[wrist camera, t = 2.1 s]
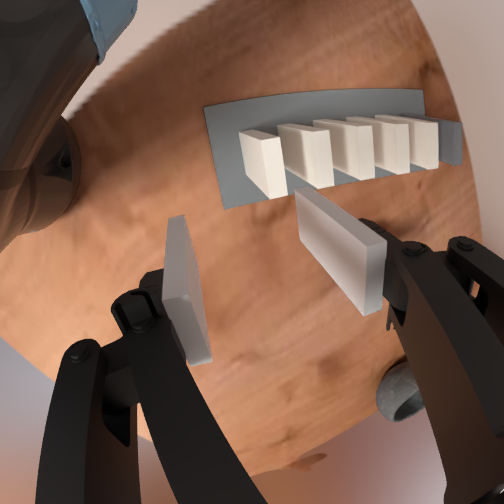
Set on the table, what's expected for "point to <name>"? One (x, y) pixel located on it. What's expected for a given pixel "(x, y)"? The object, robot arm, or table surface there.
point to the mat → (296, 112)
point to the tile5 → (420, 140)
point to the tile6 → (446, 138)
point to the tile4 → (388, 143)
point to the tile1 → (264, 162)
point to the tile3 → (350, 147)
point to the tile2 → (307, 153)
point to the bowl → (399, 394)
